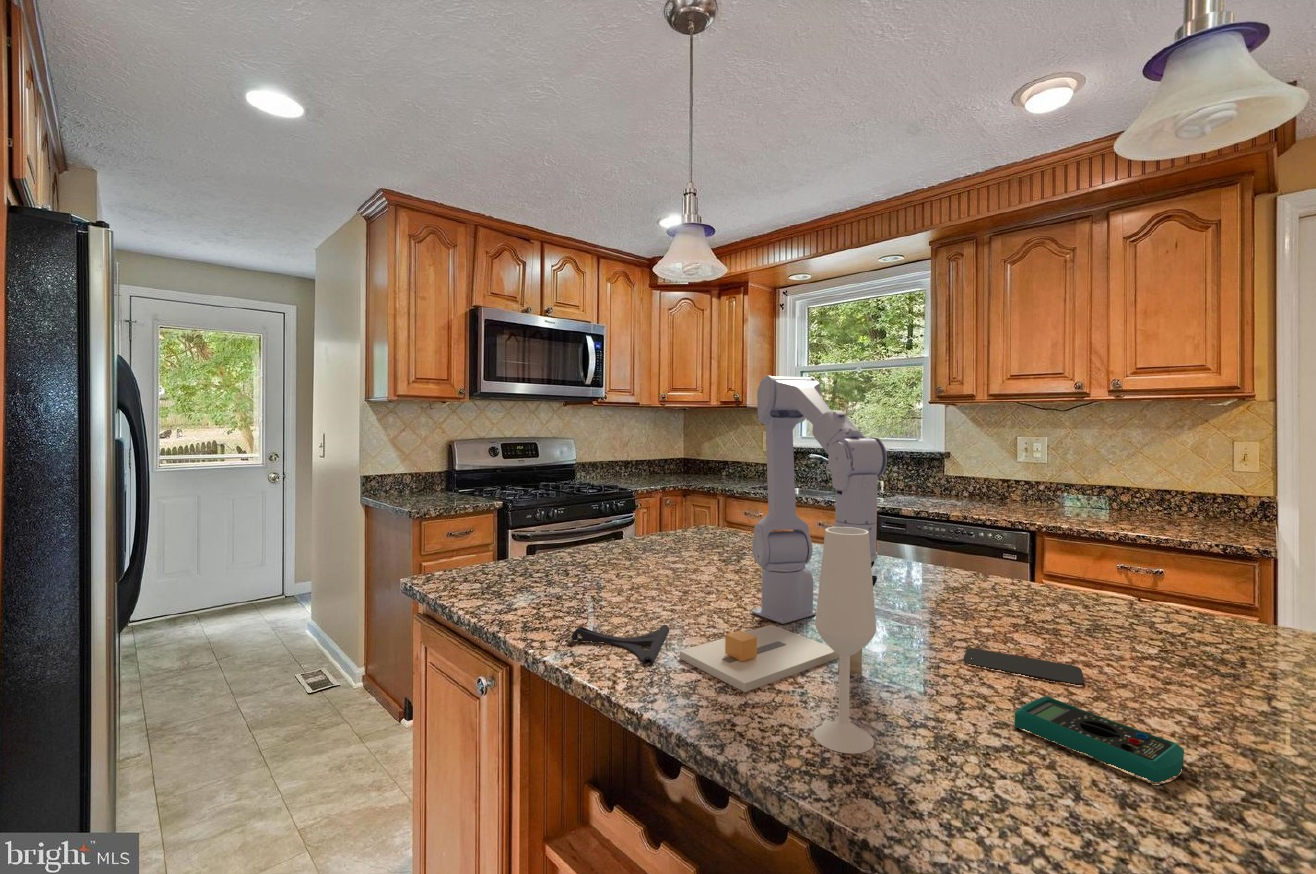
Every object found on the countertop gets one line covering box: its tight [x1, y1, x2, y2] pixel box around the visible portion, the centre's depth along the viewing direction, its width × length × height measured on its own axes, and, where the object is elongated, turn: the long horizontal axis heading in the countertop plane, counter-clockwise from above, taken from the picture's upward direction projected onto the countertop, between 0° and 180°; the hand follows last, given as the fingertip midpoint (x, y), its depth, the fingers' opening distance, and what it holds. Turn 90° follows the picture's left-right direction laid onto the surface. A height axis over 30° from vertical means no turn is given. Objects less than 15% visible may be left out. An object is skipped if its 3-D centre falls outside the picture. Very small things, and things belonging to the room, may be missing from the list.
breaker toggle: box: [724, 630, 757, 661], centre depth 92 cm, size 3×4×3 cm
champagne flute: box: [813, 526, 877, 755], centre depth 71 cm, size 7×7×24 cm
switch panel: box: [679, 624, 839, 693], centre depth 94 cm, size 20×14×1 cm
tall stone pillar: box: [837, 648, 863, 676], centre depth 90 cm, size 3×3×8 cm
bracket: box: [571, 624, 670, 665], centre depth 100 cm, size 14×15×3 cm
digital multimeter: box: [1014, 695, 1185, 782], centre depth 70 cm, size 7×15×3 cm, turn 33°
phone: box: [962, 647, 1084, 686], centre depth 91 cm, size 7×1×15 cm
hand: (853, 614), depth 90 cm, fingers open, 7 cm apart
